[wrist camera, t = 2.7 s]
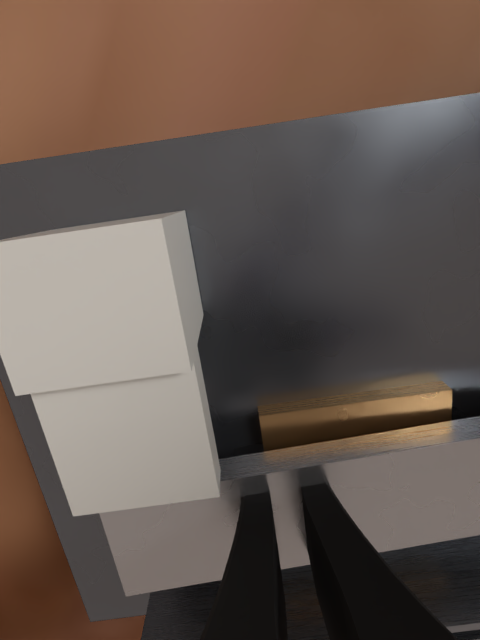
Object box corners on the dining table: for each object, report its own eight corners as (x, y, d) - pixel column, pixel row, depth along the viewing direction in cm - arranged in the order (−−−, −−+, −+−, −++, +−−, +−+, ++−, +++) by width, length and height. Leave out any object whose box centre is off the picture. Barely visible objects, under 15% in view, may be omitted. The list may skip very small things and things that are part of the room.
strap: (622, 384, 10) (684, 413, 9) (604, 477, 11) (658, 515, 10) (108, 470, 10) (91, 512, 8) (133, 558, 11) (123, 608, 9)
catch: (185, 210, 9) (161, 218, 6) (222, 419, 10) (219, 512, 7) (54, 229, 9) (-38, 247, 6) (113, 434, 10) (64, 533, 7)
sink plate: (638, 78, 10) (910, 1, 6) (567, 518, 14) (695, 640, 10) (-31, 179, 10) (-195, 168, 6) (104, 579, 14) (58, 719, 10)
